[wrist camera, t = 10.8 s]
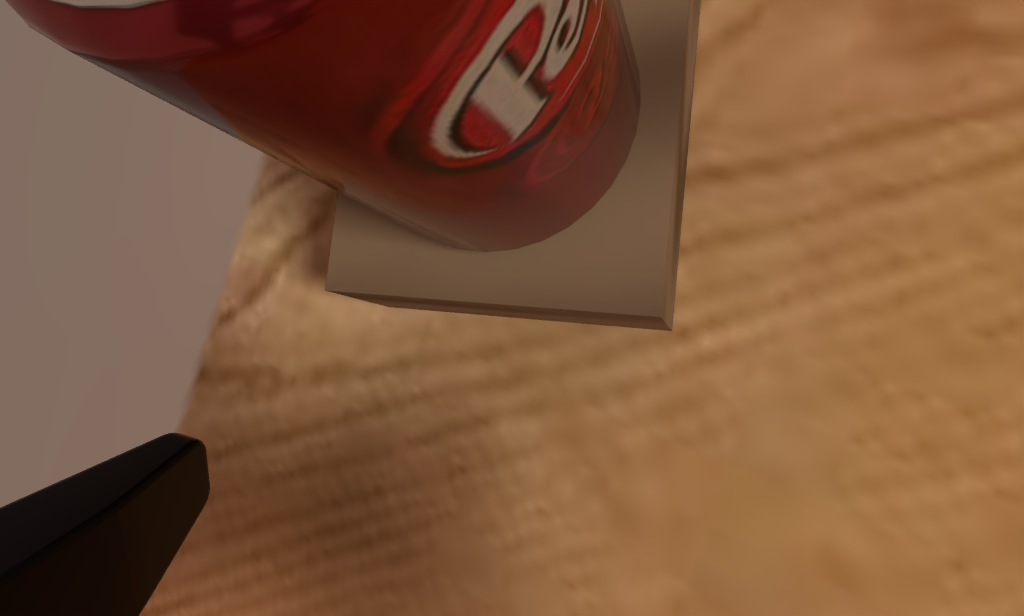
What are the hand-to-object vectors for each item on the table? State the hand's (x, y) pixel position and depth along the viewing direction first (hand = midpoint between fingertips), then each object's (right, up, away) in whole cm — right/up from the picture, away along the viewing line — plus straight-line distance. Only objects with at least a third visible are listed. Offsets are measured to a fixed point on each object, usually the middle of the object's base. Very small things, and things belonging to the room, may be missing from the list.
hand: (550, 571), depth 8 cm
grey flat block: (0, +8, +14) cm, 16 cm away
